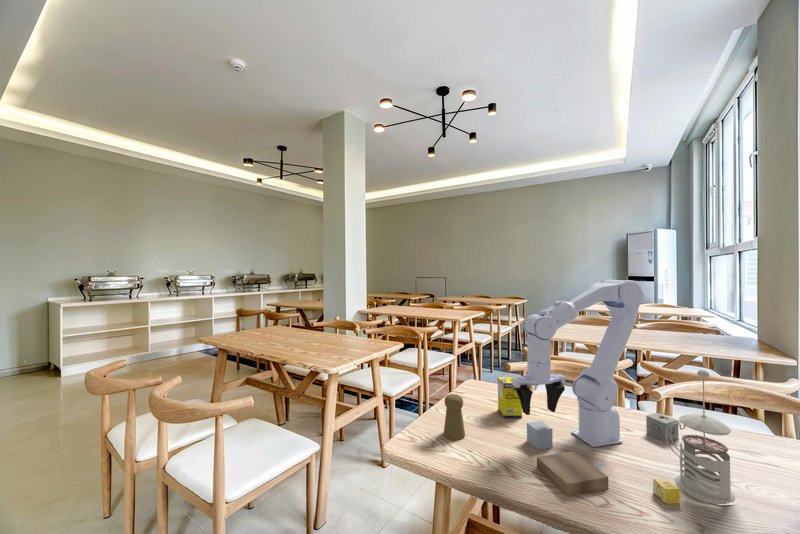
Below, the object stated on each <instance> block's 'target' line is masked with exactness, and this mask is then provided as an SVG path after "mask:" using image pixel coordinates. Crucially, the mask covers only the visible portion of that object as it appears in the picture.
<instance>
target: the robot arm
mask: <svg viewBox="0 0 800 534" xmlns="http://www.w3.org/2000/svg"><path fill="white" fill-rule="evenodd" d="M644 295H645V294H644V293H643V290H642V288H641V285H640V284H639V283H638V282H637V281H635V280H631V279H630V280H629V279H628V280H623V279H622V280H620V279H619V280H617V279H609V278H603V279H602V280H600V281H597V282H594V283H593V285H592V286H591V287H590V288H588V289H587V290H585V291H584V292H582V293H580V294H579V295H577V296H576V297H574V298H573V299H571V300H570V301H566V300H556V301H554V302H553V303H554V304H553V305H552V306H550V307H548V308H546V309H542V310H541V309H540V311H539V313H538V314H535V313H533V314H530V315H528V316H527V317H526V319H525V321H524V323H523V324H522V328H523V331H524V332H525V334H526V340H527V344H526V345H527V353H526V355H527V359H526V360H527V363H526V364H527V370H526V371H527V373H526V374H525V375H521V376H518V377H516V378H512V385H513V386H514V388H515V390H516V392H517V394H518V397H519V399H520V402H521V406H522V414H525V415H526V416H530V414H531V401H532V397H533V396H532V395H533V393H534V391H532V390H531V389H530V388H529V386H541V385H544V386H545V390H546V406H547V407H546V408H547V410H548V411H550V412H552V413H556V410H557V406H558V402H559V400H560V398H561V396H562V394H563V393H564V392H565V384H566V377H565V375H563V374H561V373H558V374H557V373H556V374H555V373H554V374H553V373H552V371H551V370H552V361H551V360H552V359H551V358H552V338H554V336H555V335H556V332H557V330H559V329H560V328H562V327H563V326H566V325H568V324H569V323H571V322H572V321H574V320H576V318H577V314H578V313H580V312H581V311H583V310H586V309H587V308H590V307H591V306H594V305H596V304H598V303H600V302H602V303H603V305H604V306H605V307H606V308H607V309H608V310H609V311H610V313H611V318H610V320H609V323H608V325H607V328H606V330H605V332H604V334H603V336H602V340H601V341H600V344H599V346H598V348H597V350H596V353H595V355H594V358H593V360H592V362H591V365H590V366H589V367H588V366H587V367H586V368H584V369H581V371H580V374H579V375H578V376H577V377H576V378H575V379H574V380H573V382H572V384H571V386H572V387H571V389H572V393H573V394H574V396H576V401H577V402H578V404H577V405H578V429H574V430H571V434H573V435H574V436H576V437H577V438H579V439H580V440H582V441H583V442H584V443H586V444H588V445H589V446H591V447H592V448H593V447H594V448H597V447H602V446H609V445H614V444H615V445H616V444H622V443H623V442H624V441H623V440H622V439H621V433H620V432H621V430H620V428H621V426H620V425H621V424H620V415H619V412H618V410H617V408H616V407H614V406H615V404H616V403H617V402H616V401H617V392H618V389H619V386H618V383H617V382H616V380H615V379H614V374H615V371H616V369H617V366H618V365H619V363H620V359H621V357H622V355H623V352H624V350H625V348H626V345H627V343H628V341H629V339H630V336H631V334H632V331H633V330H634V326H635V325H636V322H637V320H638V317H639V307H640V305H641V304H642V301H643V299H644Z"/></svg>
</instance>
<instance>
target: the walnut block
mask: <svg viewBox="0 0 800 534" xmlns="http://www.w3.org/2000/svg"><path fill="white" fill-rule="evenodd" d="M536 469H537V470H538V471H540V473H542V474H543V475H544V476H545V477H546V478H547V479H548V480H549V481H550V482H551V483H552V484H554V486H555V487H557V488H558V490H560V492H562V493H563V494H564V495H565V496H566V497H568V498H569V497H572V496H577V495H578V496H579V495H583V494H588V493H595V492H600V491H604V490H609V476H608V475H606V474H605V473H604V472H602V471H601V470H600V469H598V467H597V466H595V465H594V464H593V463H591V462H589V461H588V460H587V459H585V458H584V457H583V456H581V455H579V453H577V452H576V451H567V452H561V453H560V452H559V453H553V454H548V455H541V456H537V457H536Z"/></svg>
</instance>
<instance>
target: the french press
mask: <svg viewBox="0 0 800 534" xmlns="http://www.w3.org/2000/svg"><path fill="white" fill-rule="evenodd" d="M696 372H697V376H699V377H702V408H703V409H702V412H703V413H702V414H699V413H691V414H690V413H689V414H684V415H681V416H679V417H678V419H679V420H678V422H675V423H672V424H670V425H669V426H668V427H667V429H666V440H667V442H666V443H667V445H668V447H669V448H670V450H671V451H672V452H673V453H674V454H675V455H676V456H678V458H679V469H680V470H679V475H677V476H676V477H675V478H674V479H673V480H674V482H675V486H676V487H678V488H679V489H680V491H682V492H684V493H685V494H687V495H689V496H690V497H692V498H695V499H697V500H699V501H702V502H704V503H706V504H710V503H713V504H712V505H714V504H727V503H730V502H734V501H735V499H736V498H735V495H736V494H735V493H734V492H733V491H732V490H731V457H730V455H729V453H728V451H729V448H728V446H726V445H725V444H723V443H722V442H719V441H718V440H715V439H712V438H710V437H707V436H706V434H709V435H712V436H727V435H729V434H730V433H731V432H732V429H731V428H730V427H729V426H728V425H727V424H725V423H724V422H722V421H720V420H719V419H717V418H715V417H711V416H709V415H705V409H706V407H705V378H709V377H710V373H709V372H708V371H707V370H705V369H699V370H698V371H696ZM680 423H681V424H680ZM674 424H678V427H679V430H681V431H683V430H684V429H685V428H686V427H687V428H689V429H691V430H694V431H697V432H700V433H703V436H702V435H698V434H685V435H683V436H681V440H682V442H681V443H680V445H679V448H678V447H677V445H676V444H675V442H674V440H672V436H671V430H672V427H673V426H674ZM671 425H672V426H671ZM682 425H683V427H682ZM670 426H671V428H670V437H671V440H672V441H671V443H672V445H673V446H674V447H675V449H676V450H677V451H678V452H679V453H680V454H678V453H677V452H676V451H675V450H674V449H673V448H672V446H671V444H670V443H669V442H670V441H669V442H668V439H667V430H668V428H669V427H670ZM698 455H708V456H709V457H708V456H707V457H705V456H698ZM710 457H711V458H710ZM712 458H714V459H715V460H714V459H712ZM720 458H721V459H722V460H721V459H720ZM699 466H700V467H702V468H700V467H699ZM683 468H684V469H683ZM733 493H734V494H735V495H734V494H733Z"/></svg>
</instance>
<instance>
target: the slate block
mask: <svg viewBox="0 0 800 534" xmlns="http://www.w3.org/2000/svg"><path fill="white" fill-rule="evenodd" d="M526 442H527V443H529V445H531V446H532V447H533V448H534V449H536V450H537V451H538V450H546V449H552V448H554V447H553V445H554V443H553V428H552V427H551V426H550V425H548V424H546V423H545V422H544V421H542V420H538V421H530V422H529V421H528V422H526Z"/></svg>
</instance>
